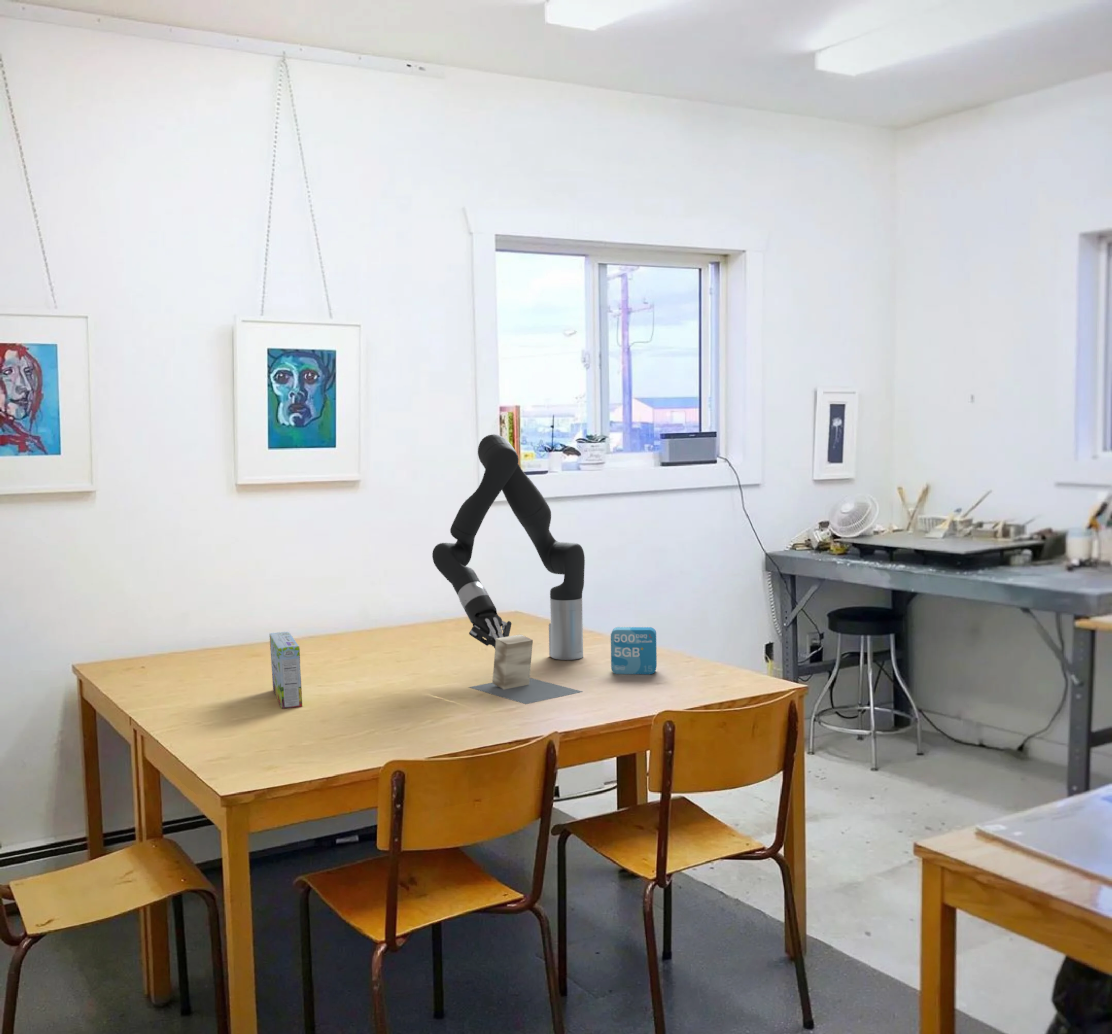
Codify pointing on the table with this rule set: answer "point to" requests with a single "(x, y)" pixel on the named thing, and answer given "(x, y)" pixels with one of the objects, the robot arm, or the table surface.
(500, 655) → the ash block
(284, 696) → the snack box
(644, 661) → the data package
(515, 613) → the table surface
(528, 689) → the mat
